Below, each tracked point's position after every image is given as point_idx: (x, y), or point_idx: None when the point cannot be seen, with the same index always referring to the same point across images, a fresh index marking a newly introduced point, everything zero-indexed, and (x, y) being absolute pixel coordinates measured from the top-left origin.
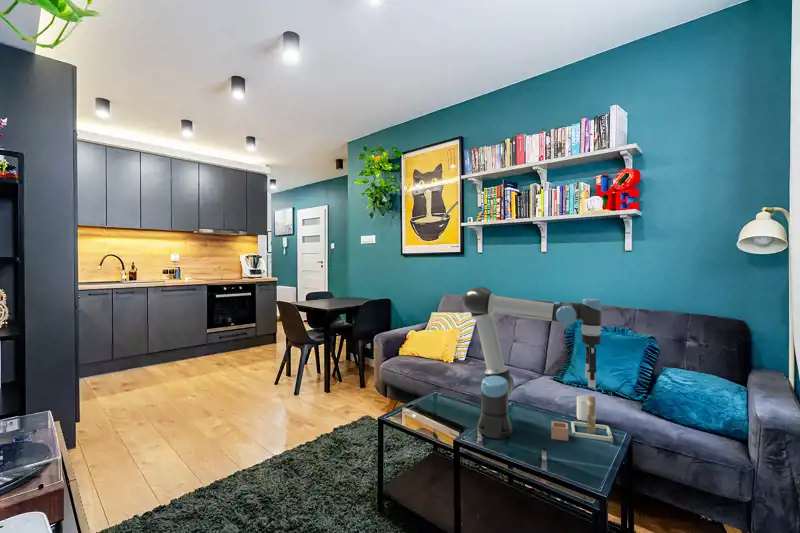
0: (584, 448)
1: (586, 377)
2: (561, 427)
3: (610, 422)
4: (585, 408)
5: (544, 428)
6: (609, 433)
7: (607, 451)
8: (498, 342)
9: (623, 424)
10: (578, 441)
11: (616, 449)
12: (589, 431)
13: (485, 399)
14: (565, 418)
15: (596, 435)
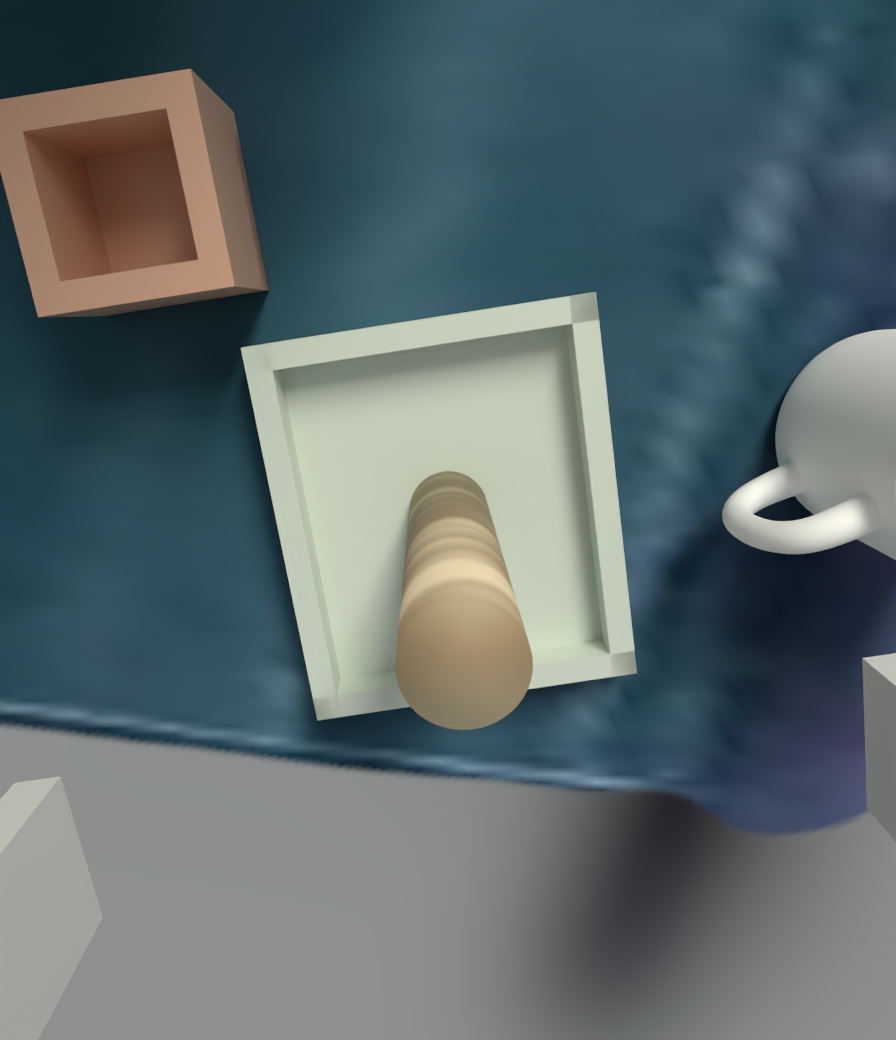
0: (79, 471)
1: (878, 691)
2: (38, 230)
3: None
4: (844, 456)
5: (375, 4)
6: None
7: (135, 656)
8: None
9: None
10: (213, 405)
11: (223, 721)
12: (412, 502)
13: None
14: (812, 204)
15: (299, 578)
